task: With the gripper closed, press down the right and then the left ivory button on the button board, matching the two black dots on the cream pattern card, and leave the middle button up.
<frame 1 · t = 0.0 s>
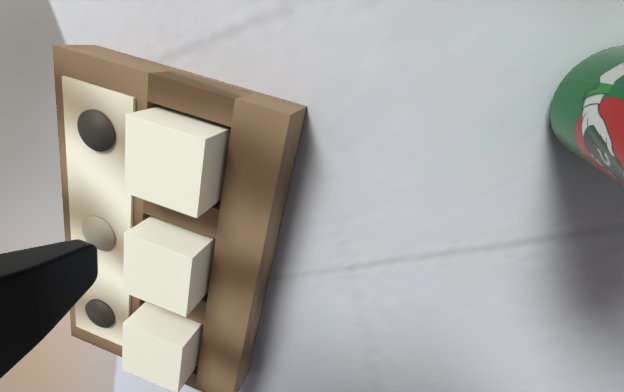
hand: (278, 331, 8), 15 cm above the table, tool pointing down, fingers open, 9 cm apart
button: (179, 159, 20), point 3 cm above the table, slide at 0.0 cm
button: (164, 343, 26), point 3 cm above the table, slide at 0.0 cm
button board: (181, 230, 26), on the table
middle button: (171, 263, 23), point 3 cm above the table, slide at 0.0 cm
soda can: (605, 103, 17), on the table
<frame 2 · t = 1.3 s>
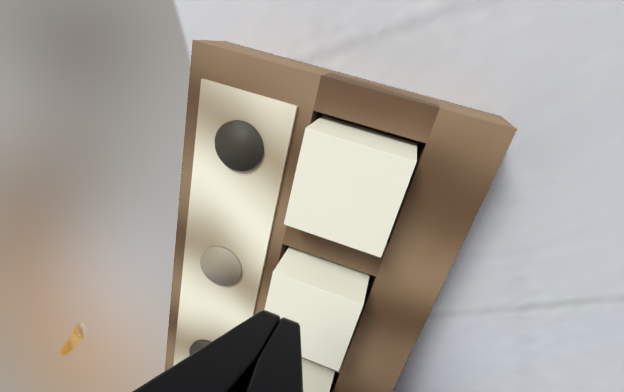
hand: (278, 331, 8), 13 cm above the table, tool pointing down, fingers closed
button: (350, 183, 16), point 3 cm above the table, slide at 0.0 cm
button board: (305, 259, 22), on the table
middle button: (314, 303, 19), point 3 cm above the table, slide at 0.0 cm
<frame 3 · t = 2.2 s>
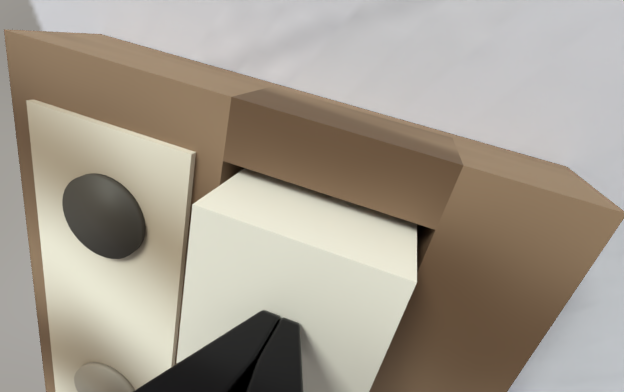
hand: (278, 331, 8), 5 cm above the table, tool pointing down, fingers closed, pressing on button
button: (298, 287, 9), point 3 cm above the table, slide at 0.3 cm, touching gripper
button board: (251, 361, 15), on the table
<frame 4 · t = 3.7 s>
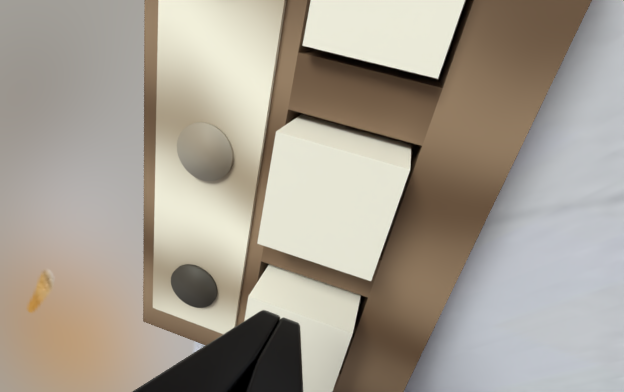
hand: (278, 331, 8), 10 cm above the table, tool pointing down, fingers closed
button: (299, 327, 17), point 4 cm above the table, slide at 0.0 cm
button board: (318, 156, 17), on the table
middle button: (334, 193, 14), point 3 cm above the table, slide at 0.0 cm
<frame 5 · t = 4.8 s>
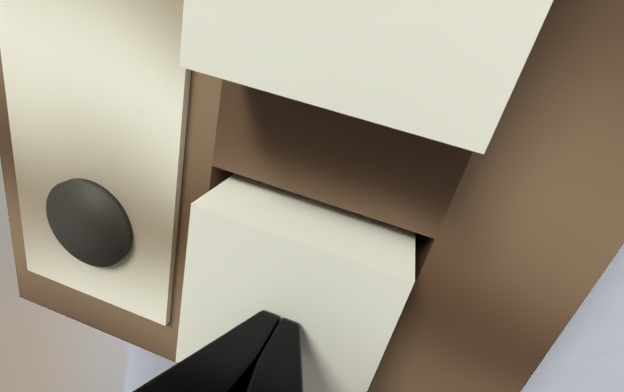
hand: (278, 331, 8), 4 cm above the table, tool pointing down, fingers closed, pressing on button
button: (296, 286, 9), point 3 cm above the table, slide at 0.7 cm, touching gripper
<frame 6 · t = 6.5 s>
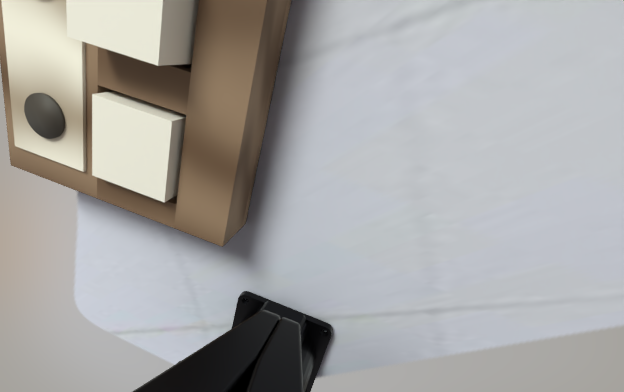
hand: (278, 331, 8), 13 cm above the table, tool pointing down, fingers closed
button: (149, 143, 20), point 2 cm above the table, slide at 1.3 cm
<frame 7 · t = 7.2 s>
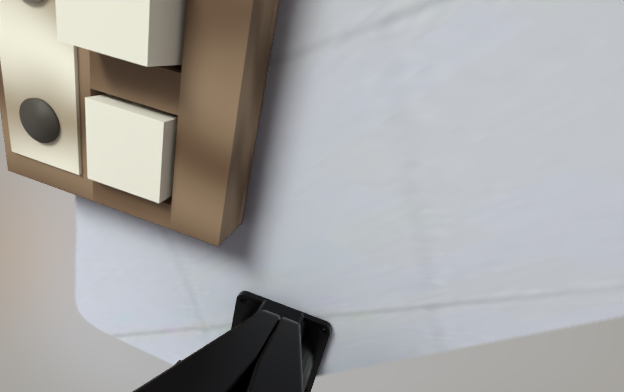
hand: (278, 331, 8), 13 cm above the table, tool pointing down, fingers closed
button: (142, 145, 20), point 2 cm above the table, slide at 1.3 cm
button board: (150, 1, 19), on the table
middle button: (127, 0, 16), point 4 cm above the table, slide at 0.0 cm
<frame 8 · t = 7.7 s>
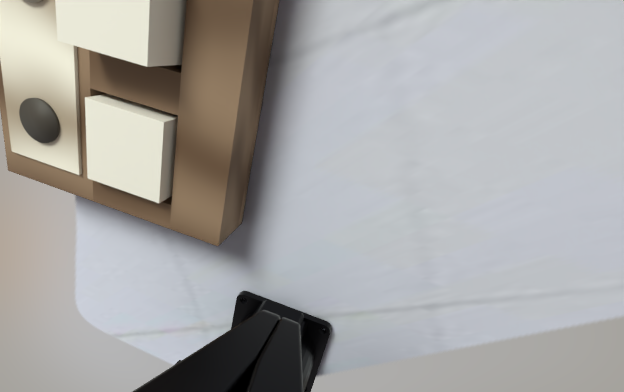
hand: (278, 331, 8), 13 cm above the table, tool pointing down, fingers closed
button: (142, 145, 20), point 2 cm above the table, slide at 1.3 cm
button board: (150, 1, 19), on the table
middle button: (127, 0, 16), point 3 cm above the table, slide at 0.0 cm
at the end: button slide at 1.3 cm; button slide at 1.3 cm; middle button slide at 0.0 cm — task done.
